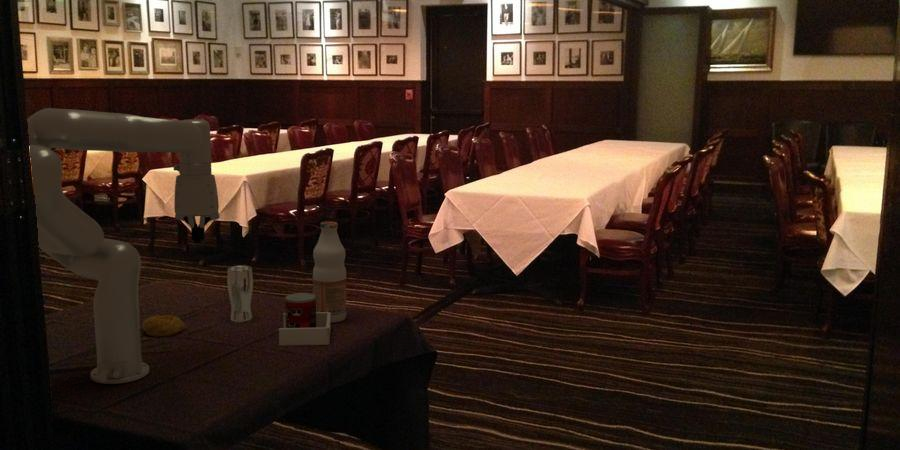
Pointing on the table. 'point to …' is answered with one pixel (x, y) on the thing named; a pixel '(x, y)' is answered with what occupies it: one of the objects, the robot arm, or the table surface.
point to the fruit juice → (330, 273)
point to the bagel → (163, 325)
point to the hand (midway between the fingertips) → (198, 242)
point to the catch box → (307, 332)
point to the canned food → (300, 310)
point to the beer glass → (240, 292)
